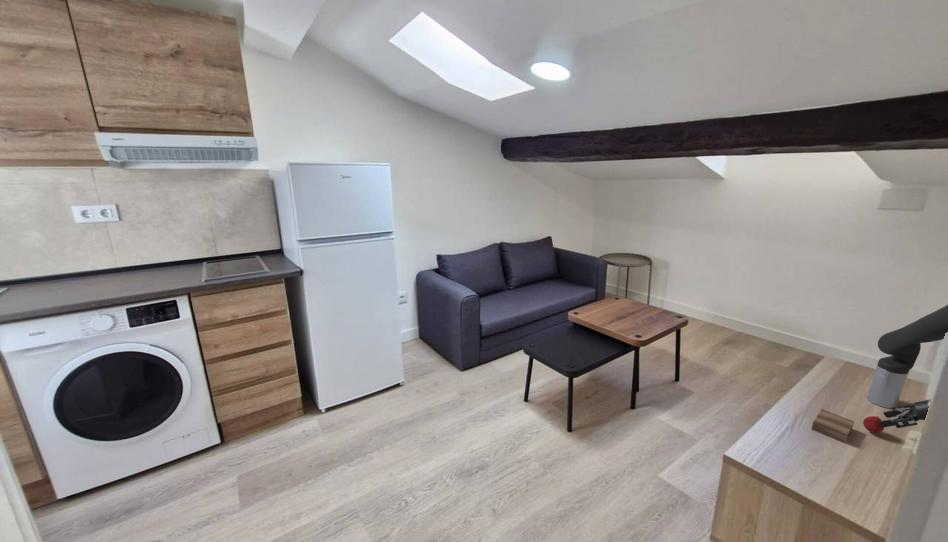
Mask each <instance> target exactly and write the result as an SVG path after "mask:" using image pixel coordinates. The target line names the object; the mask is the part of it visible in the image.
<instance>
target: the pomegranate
mask: <svg viewBox="0 0 948 542" xmlns="http://www.w3.org/2000/svg"><path fill="white" fill-rule="evenodd" d="M880 421H883V420H882V419H880V417H878V415H877V414H875V415H871V416H870V415H869V416H866V417H865V418H864V419H863V422H862V423H863V427H864V428H865V429H866V430H867V431H868V432H869V433H876V434H878V433H881V432H883V431H884V429H885V427H882V426H881V424H880V423H879V422H880Z"/></svg>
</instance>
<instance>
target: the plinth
mask: <svg viewBox="0 0 948 542" xmlns="http://www.w3.org/2000/svg"><path fill="white" fill-rule="evenodd" d="M854 424H855V421H854V420H851V419H849V418H846V417H844V416H841V415H839V414H837V413H834V412H831V411H828V410H825V409H820V411H819V412H818V414H817V415H816V417H815V419H814V420H813V422H812V426H811V430H812V431H815V432H817V433H820V434H822V435H824V436H827V437H829V438H831V439H834V440H836V441H838V442H840V443H843V444H845V443H846V441H847V440H848V437H849V436H850V433H852V430H853V427H854Z"/></svg>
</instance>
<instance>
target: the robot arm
mask: <svg viewBox="0 0 948 542" xmlns="http://www.w3.org/2000/svg"><path fill="white" fill-rule="evenodd" d="M947 332H948V304H947V305H945V306H943V307H941V308H939V309H937V310H935V311H932V312H931V313H929V314H926V315H925V316H923V317H921V318H919V319H917V320H915V321H913V322H912V323H909V324H907V325H905V326H903V327H901V328H898V329H895V330H892V331H890V332H887V333H884V334H883V335H881V336H880V337H879V339H878V341H877V347H878V349H879V350H880V352H882V353H883V354H884V355H885V354H886V355H889V356H885V357H882V358H879V359H878V361H877V364H876V368H875V372H874V373H873V377H872V380H871V383H870V385H869V389H868V392H867V395H866V399H867V400H868V401H869V402H870V403H872V404H874V405H875V406H880V407H882V408H887V409H894V410H887V411H884V412H883V416H884V417H886V418H887V419H886V420H884V419H883V420H882V421H880V422H879V423H880V424H881V426H882V427H884V428H890V427H896V428H897V429H901V428H908V427H912V426H918V421H921V420H922V421H924V420H925V418H926V415H927V412H928V408H929V404H930V401H931V399H932V398H930V399H924V400H921V401H916V402H914V403H911V404H905V405H900V406H898V402H899V401H900V397H901V394H902V392H903V389H904V386H905V384H906V381H907V378H908V377H909V373H910V371H911V370H912V369H913V368H914V366H915V363H916V361H917V359H918V357H919V355H920V352H921V348H922V345H921V344H926V343H932V342H937V341H942V340H945V339H944V336H945V333H947ZM897 406H898V407H897Z"/></svg>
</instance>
